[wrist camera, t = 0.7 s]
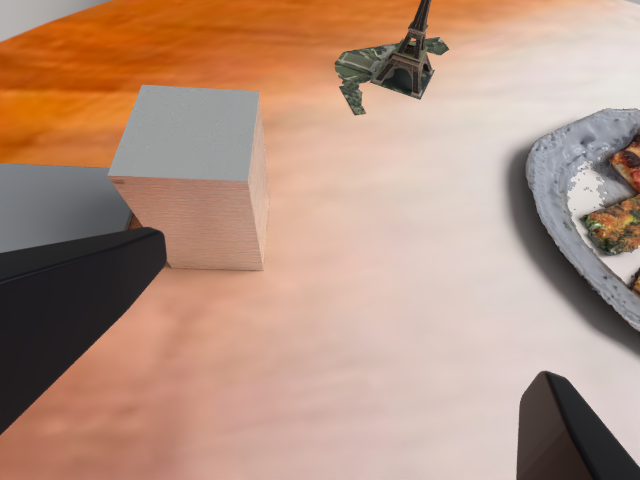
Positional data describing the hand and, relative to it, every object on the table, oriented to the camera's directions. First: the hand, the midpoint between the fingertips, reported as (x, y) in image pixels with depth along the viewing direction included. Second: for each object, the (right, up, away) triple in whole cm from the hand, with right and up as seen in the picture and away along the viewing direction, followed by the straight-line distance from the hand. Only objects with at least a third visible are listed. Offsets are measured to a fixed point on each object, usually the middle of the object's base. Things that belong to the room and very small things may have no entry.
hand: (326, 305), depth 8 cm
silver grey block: (-7, +2, +19) cm, 20 cm away
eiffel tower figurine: (+9, +19, +30) cm, 37 cm away
